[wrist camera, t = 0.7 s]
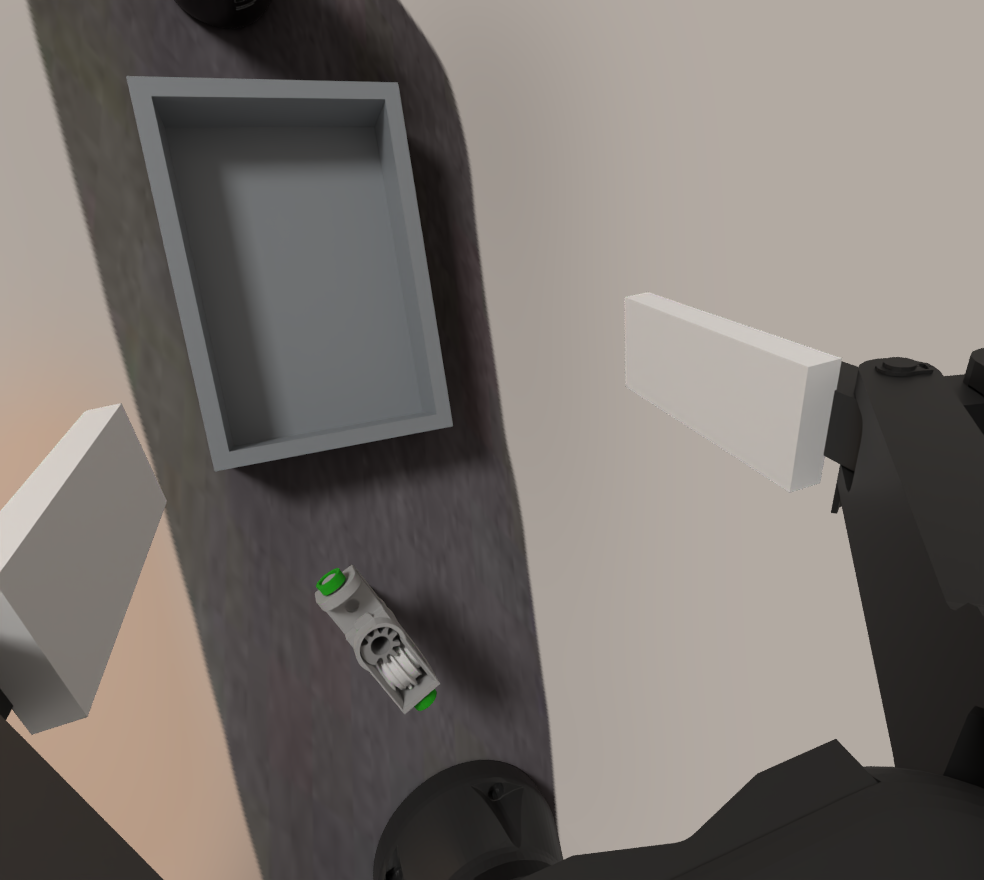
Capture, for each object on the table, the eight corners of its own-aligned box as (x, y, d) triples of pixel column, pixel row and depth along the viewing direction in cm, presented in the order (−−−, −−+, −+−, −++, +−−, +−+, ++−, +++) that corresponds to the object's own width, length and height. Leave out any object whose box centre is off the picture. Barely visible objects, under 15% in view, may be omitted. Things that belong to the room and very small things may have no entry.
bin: (434, 422, 43) (453, 426, 39) (222, 461, 38) (214, 471, 34) (383, 118, 40) (398, 82, 36) (146, 117, 35) (126, 76, 31)
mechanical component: (334, 526, 41) (351, 566, 32) (413, 627, 44) (449, 691, 35) (299, 552, 41) (306, 600, 31) (381, 653, 43) (410, 725, 34)
